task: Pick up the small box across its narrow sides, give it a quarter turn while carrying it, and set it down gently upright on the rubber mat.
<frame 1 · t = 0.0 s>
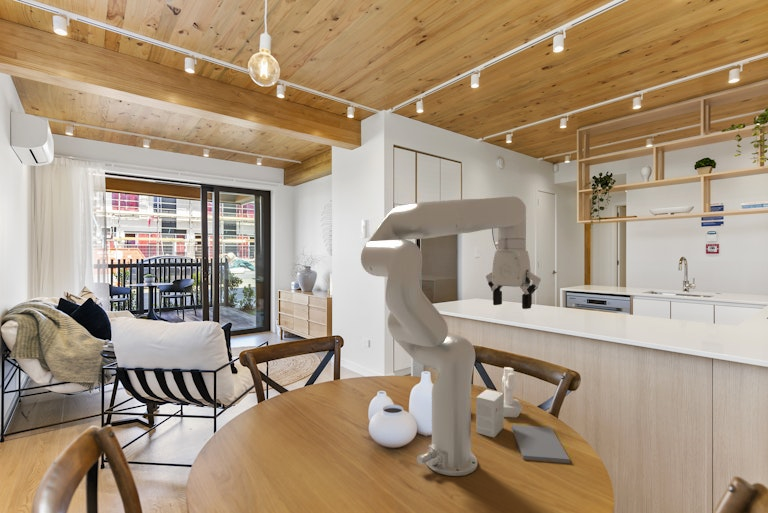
hand: (511, 306, 111), 37 cm above the table, tool pointing down, fingers open, 9 cm apart
small box: (489, 431, 115), on the table
figurine: (508, 415, 126), on the table
mat: (538, 444, 106), on the table
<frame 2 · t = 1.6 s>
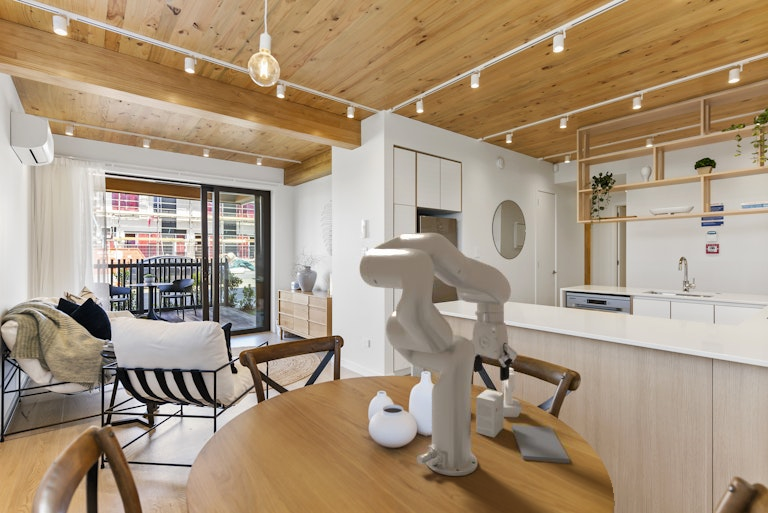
hand: (490, 375, 115), 16 cm above the table, tool pointing down, fingers open, 9 cm apart
nothing on the table moved.
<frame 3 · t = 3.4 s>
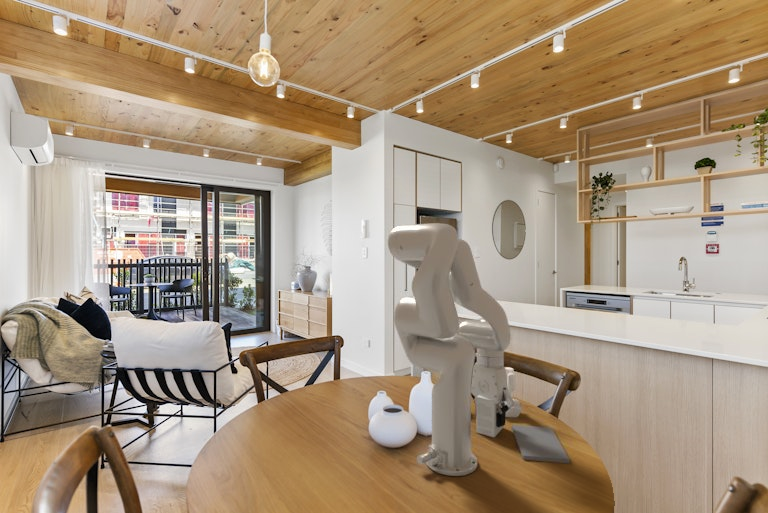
hand: (490, 420, 115), 3 cm above the table, tool pointing down, fingers closed on small box, 6 cm apart
small box: (490, 431, 115), on the table, touching gripper
everything else where it was.
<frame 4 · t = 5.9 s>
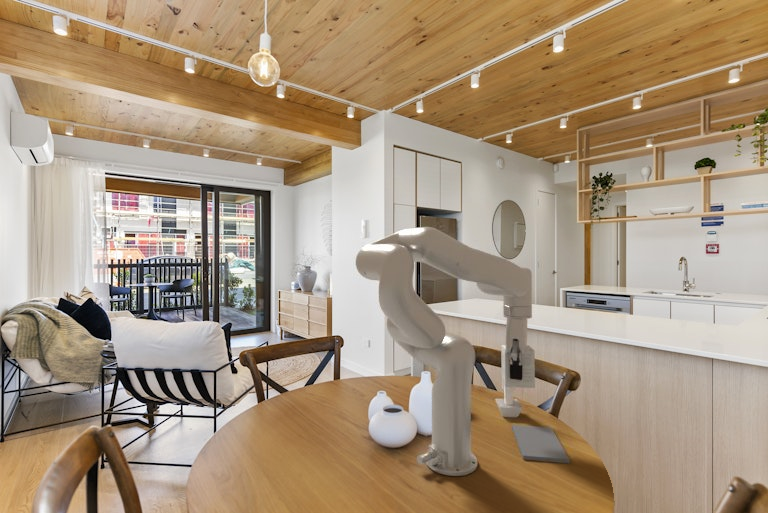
hand: (517, 374, 110), 18 cm above the table, tool pointing down, fingers closed on small box, 6 cm apart
small box: (517, 385, 110), point 15 cm above the table, touching gripper
everything else where it was.
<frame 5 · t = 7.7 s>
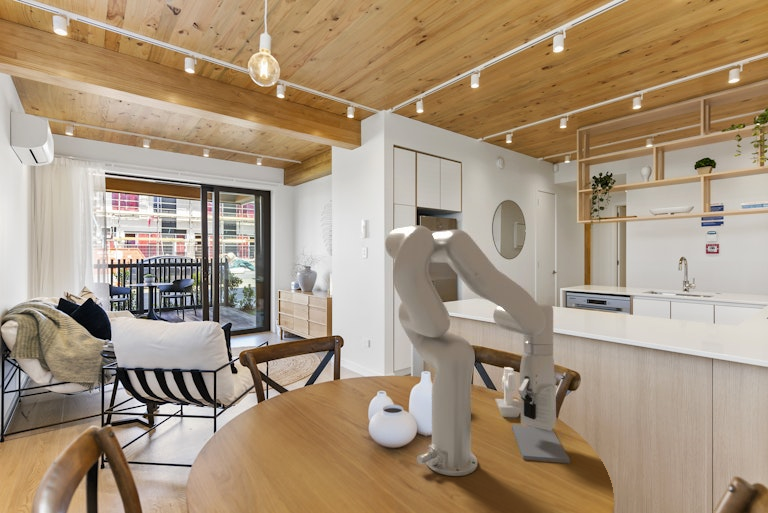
hand: (538, 413, 106), 8 cm above the table, tool pointing down, fingers closed on small box, 6 cm apart
small box: (538, 424, 106), point 5 cm above the table, touching gripper
everything else where it was.
when the fingers open (4 cm above the table, at t = 8.9 s): small box stays where it is, resting on mat.
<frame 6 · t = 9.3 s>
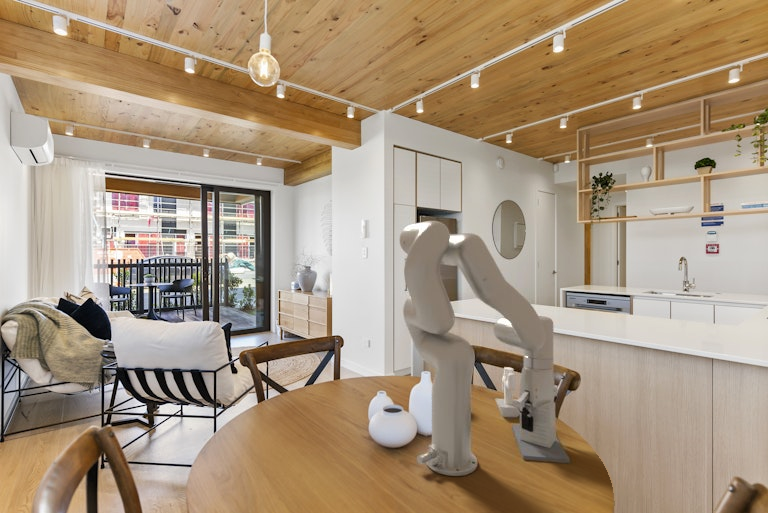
hand: (538, 425, 106), 5 cm above the table, tool pointing down, fingers open, 9 cm apart
small box: (537, 441, 106), point 1 cm above the table, touching mat
everything else where it was.
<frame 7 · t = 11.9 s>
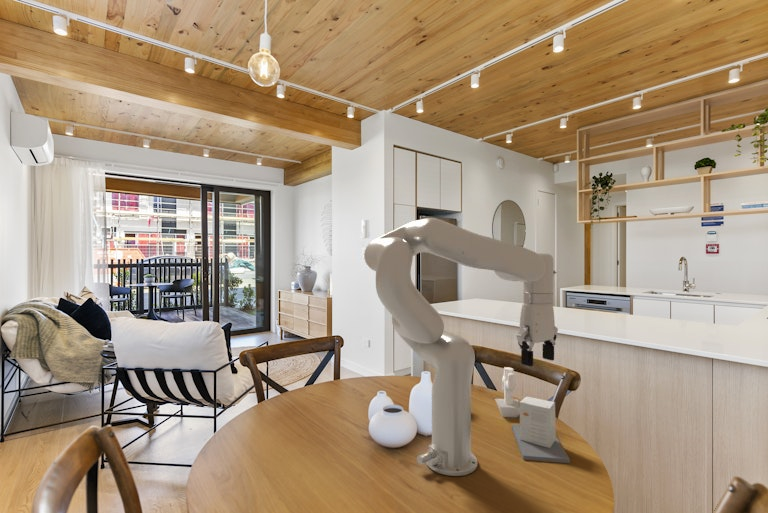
hand: (538, 362, 106), 22 cm above the table, tool pointing down, fingers open, 9 cm apart
nothing on the table moved.
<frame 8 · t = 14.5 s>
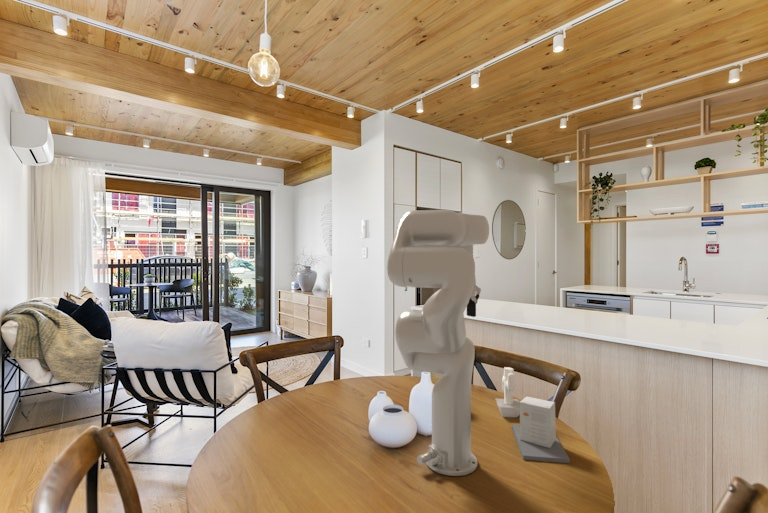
hand: (460, 317, 118), 32 cm above the table, tool pointing down, fingers open, 9 cm apart
nothing on the table moved.
at the end: small box 0.2 cm off-centre on the mat, point 0.8 cm above the mat's base; small box tilted 0°; the gripper is holding nothing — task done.
